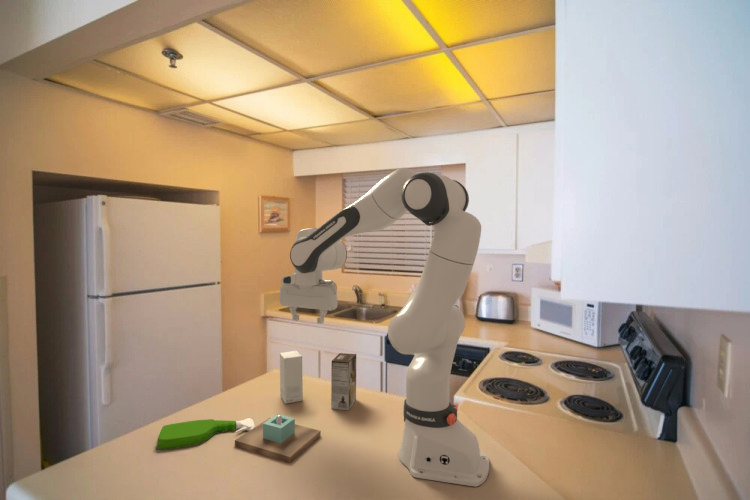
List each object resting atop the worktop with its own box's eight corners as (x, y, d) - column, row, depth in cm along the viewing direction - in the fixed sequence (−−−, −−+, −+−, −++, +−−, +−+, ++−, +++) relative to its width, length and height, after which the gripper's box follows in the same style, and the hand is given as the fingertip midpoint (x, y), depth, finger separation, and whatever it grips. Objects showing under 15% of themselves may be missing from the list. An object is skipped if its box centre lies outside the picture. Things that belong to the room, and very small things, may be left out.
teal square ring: (294, 432, 103) (294, 418, 102) (280, 443, 97) (281, 428, 97) (277, 428, 105) (277, 414, 105) (262, 438, 99) (263, 423, 99)
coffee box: (338, 397, 130) (339, 352, 129) (356, 399, 128) (357, 353, 128) (330, 409, 121) (331, 360, 120) (349, 411, 120) (349, 362, 119)
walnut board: (320, 436, 104) (320, 430, 104) (290, 462, 91) (290, 456, 91) (269, 422, 111) (269, 417, 111) (234, 445, 98) (234, 440, 98)
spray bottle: (162, 433, 105) (252, 420, 114) (155, 454, 95) (255, 437, 104) (162, 423, 105) (252, 410, 114) (155, 443, 95) (255, 427, 104)
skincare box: (303, 401, 126) (303, 356, 126) (283, 404, 123) (284, 358, 123) (297, 392, 134) (297, 349, 134) (278, 395, 131) (279, 351, 131)
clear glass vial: (283, 436, 101) (283, 414, 101) (279, 439, 100) (279, 417, 100) (278, 435, 102) (278, 413, 102) (274, 437, 101) (274, 416, 101)
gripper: (341, 279, 117) (341, 323, 117) (288, 276, 125) (288, 317, 125) (331, 281, 111) (330, 327, 111) (276, 278, 119) (276, 320, 119)
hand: (307, 321), depth 118 cm, fingers open, 8 cm apart
